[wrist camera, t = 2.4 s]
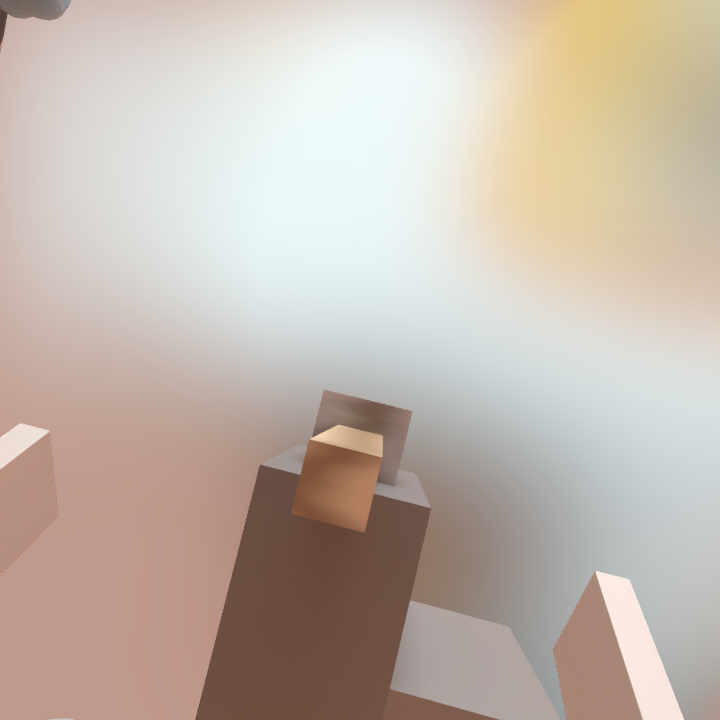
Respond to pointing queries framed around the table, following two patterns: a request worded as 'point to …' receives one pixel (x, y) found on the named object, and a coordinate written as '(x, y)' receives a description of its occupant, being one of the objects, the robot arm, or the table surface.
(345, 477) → the hammer
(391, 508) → the stand
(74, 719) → the flask
